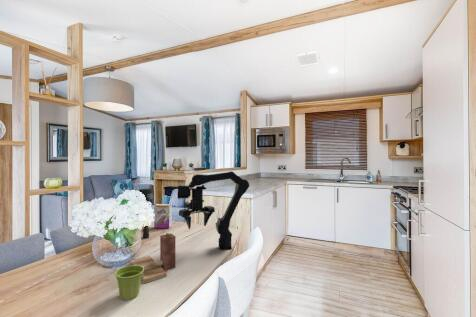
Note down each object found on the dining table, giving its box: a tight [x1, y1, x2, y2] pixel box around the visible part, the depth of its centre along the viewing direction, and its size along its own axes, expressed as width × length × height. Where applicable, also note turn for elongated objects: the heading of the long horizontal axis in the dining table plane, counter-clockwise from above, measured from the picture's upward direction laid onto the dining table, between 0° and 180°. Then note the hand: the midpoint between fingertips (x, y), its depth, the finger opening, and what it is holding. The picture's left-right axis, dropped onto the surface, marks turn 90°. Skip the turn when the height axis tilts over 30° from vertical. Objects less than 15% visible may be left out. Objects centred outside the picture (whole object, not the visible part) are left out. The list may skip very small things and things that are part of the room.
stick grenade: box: [138, 187, 154, 239], centre depth 146 cm, size 8×9×30 cm
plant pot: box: [114, 265, 144, 301], centre depth 84 cm, size 9×9×9 cm
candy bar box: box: [153, 203, 173, 229], centre depth 168 cm, size 11×5×16 cm, turn 84°
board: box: [129, 255, 168, 284], centre depth 103 cm, size 22×9×2 cm, turn 38°
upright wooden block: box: [142, 232, 176, 272], centre depth 103 cm, size 14×5×15 cm, turn 128°
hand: (197, 227), depth 126 cm, fingers open, 9 cm apart
